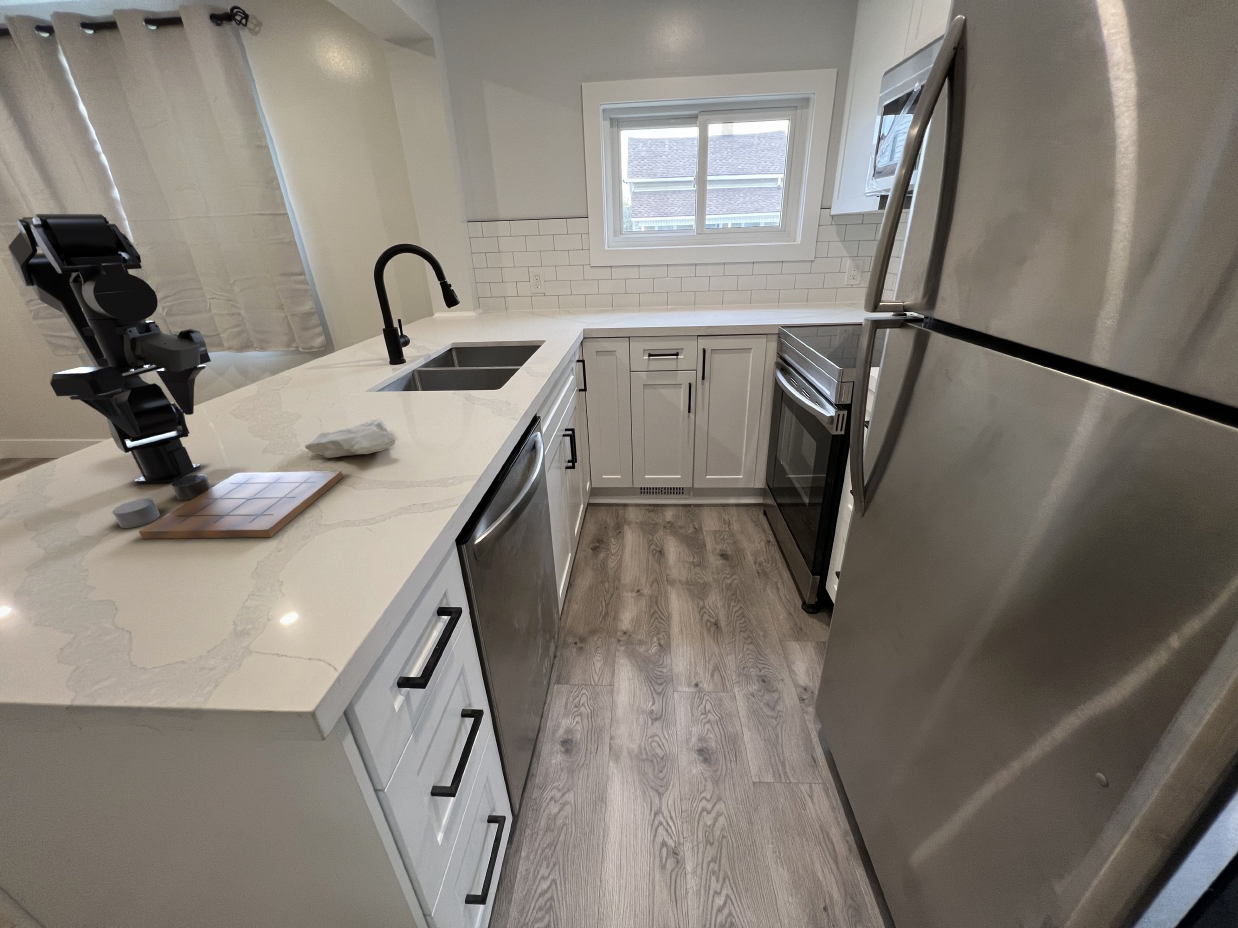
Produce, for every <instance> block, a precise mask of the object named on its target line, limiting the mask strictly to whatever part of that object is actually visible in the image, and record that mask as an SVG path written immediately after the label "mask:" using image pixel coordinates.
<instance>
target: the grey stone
mask: <svg viewBox="0 0 1238 928" xmlns="http://www.w3.org/2000/svg"><path fill="white" fill-rule="evenodd" d="M112 514H113V516H114V518H115V520H116V521H117V524H118V525H119V527H120V528H122V529H132V528H138V527H141V526H144V525H147V524H149V523H150V524H151V523H153V522H155V521H156V520H158V518H159V517H160V516H161V513H160V511H159V508H158V507H157V505H156V502H155V501H154V499H153V498H149V497H148V498H147V497H146V498H139V499H134V500H130V501H127V502H125V503H122V504H120V505H118V506H116V507H114V508H113V509H112Z"/></svg>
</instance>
